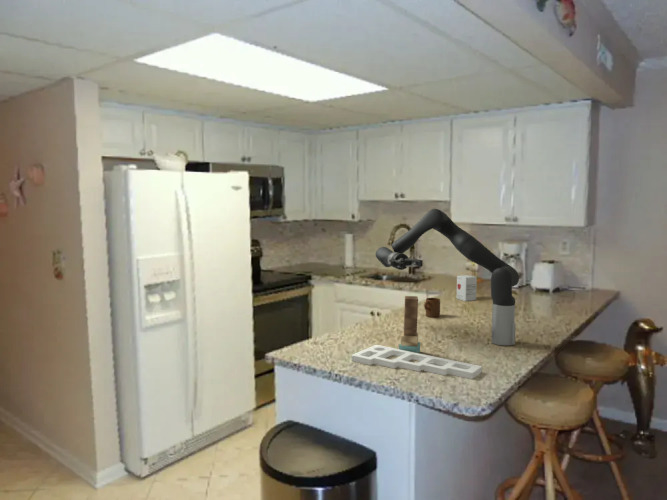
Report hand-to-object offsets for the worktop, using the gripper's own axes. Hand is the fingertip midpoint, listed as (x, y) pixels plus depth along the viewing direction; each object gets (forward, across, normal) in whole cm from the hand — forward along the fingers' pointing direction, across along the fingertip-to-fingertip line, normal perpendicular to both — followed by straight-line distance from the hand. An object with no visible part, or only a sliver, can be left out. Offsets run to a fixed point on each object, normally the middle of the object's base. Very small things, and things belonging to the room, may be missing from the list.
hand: (412, 264), depth 212 cm
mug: (-41, +29, +34) cm, 61 cm away
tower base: (+15, -7, +34) cm, 38 cm away
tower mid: (+15, -7, +30) cm, 35 cm away
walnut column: (+15, -7, +26) cm, 31 cm away
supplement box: (-80, +73, +34) cm, 113 cm away
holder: (+31, -12, +35) cm, 48 cm away
